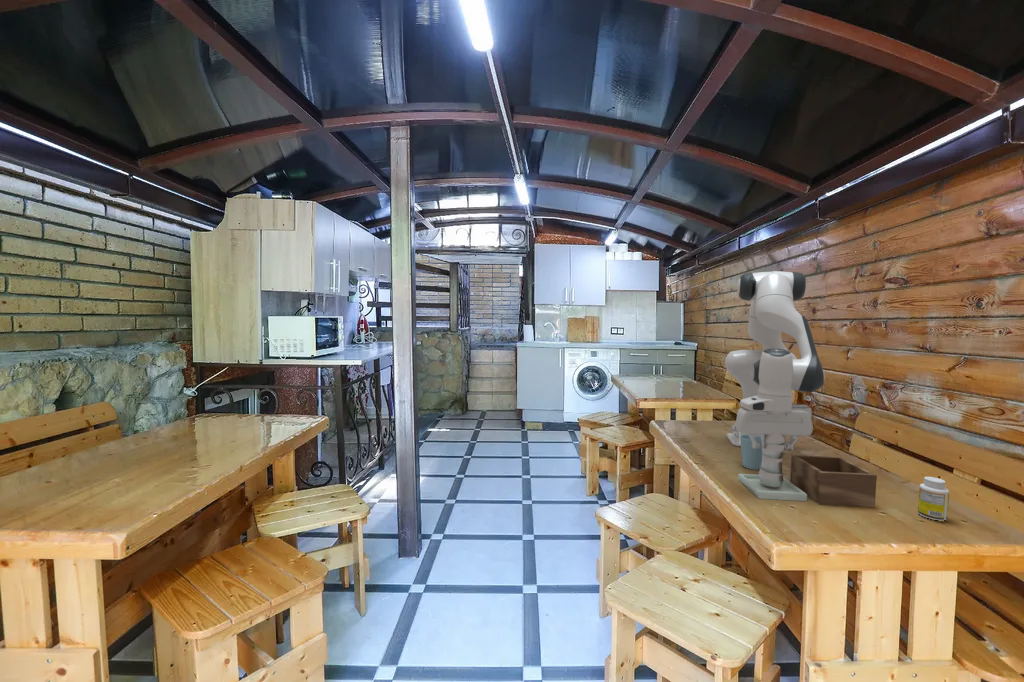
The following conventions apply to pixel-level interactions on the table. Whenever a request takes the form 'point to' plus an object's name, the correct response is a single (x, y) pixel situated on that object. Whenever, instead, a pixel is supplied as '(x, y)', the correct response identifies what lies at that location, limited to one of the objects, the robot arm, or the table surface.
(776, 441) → the plastic bottle
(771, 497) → the tray
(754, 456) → the cup
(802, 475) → the box
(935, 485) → the supplement bottle
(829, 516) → the table surface
